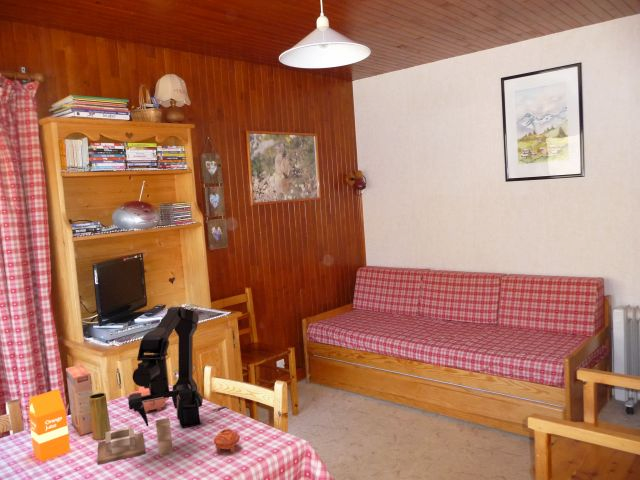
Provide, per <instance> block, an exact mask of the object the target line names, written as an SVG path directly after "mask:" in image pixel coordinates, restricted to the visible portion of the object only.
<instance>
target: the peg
mask: <svg viewBox="0 0 640 480" xmlns="http://www.w3.org/2000/svg"><path fill="white" fill-rule="evenodd" d="M155 426H156V428H155V429H156V437H157V445H158V447H157V448H158V453H159V457H163V456H167V455H171V454H174V450H173V439H172V429H171V421H170V418H169V417H166V418H161V419H156V420H155Z"/></svg>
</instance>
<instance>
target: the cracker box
mask: <svg viewBox="0 0 640 480" xmlns="http://www.w3.org/2000/svg"><path fill="white" fill-rule="evenodd" d="M65 372H66V374H65V375H66V381H67V390H68V399H69V407H70V416H71V417H70V418H71V424H72V426H73V427H74V428H75V430H76V431H77V433H78V435H79V436H84V435H87V434H90V433H91V434H92V433H93V432H92V419H91V409H90V400H89V397H90V396H91V395H93V394H94V393H93V383H92V374H91V373H90V372H89V370H87V369H86V367H84V365H83V364H78V365H77V364H76V365H74V366H70V367H66V368H65Z"/></svg>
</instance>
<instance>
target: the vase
mask: <svg viewBox="0 0 640 480" xmlns="http://www.w3.org/2000/svg"><path fill="white" fill-rule="evenodd" d="M89 400H90V409H91V419H92V432H91V433H92V439H93V440H96V441H99V440H106V432H109V431H112V429H111V422H110V416H109V410H108V404H107V403H108V402H107V394H106V393H105V392H97V393H93V395H91V396H90V397H89Z"/></svg>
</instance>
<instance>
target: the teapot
mask: <svg viewBox="0 0 640 480" xmlns="http://www.w3.org/2000/svg"><path fill="white" fill-rule="evenodd" d="M137 393H141V396H146V395H150V392H149V388H146V389H144V387H141V386H138V390H136V391H132V392H130V393H129V395H132V394H137ZM169 399H170V397H168V398H163V399H158V400H153V401H148V402H143V404H144V408H145V412H146V414H148V413H150V411H151V410H156V411H158V412H159V411H162V410H163V409H162V408H164V407H165V405H166V401H168V400H169Z"/></svg>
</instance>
